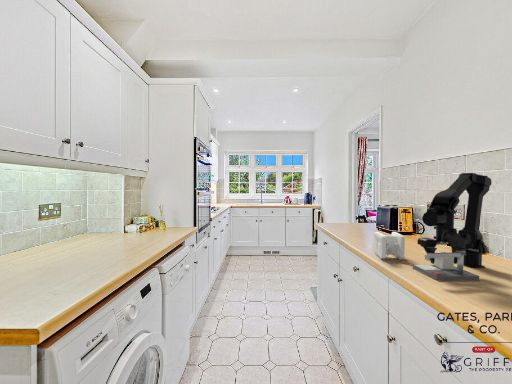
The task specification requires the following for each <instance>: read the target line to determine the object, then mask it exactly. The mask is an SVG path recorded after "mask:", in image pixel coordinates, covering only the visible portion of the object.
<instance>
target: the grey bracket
mask: <svg viewBox="0 0 512 384" xmlns="http://www.w3.org/2000/svg"><path fill="white" fill-rule="evenodd" d="M465 253H466V251H464V250H456V252H452V251H450V252H446V253H441V252H435V253H426V254H425V255H424V260H425V261H428V262H429V261H430V258H447V257H457V264H456V267H457V273H458V274H463V270H464V265H463V262H464V254H465ZM430 262H431V261H430Z"/></svg>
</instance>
